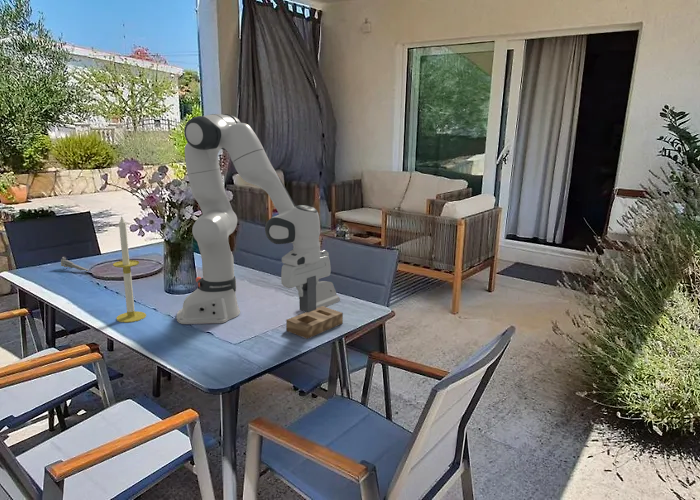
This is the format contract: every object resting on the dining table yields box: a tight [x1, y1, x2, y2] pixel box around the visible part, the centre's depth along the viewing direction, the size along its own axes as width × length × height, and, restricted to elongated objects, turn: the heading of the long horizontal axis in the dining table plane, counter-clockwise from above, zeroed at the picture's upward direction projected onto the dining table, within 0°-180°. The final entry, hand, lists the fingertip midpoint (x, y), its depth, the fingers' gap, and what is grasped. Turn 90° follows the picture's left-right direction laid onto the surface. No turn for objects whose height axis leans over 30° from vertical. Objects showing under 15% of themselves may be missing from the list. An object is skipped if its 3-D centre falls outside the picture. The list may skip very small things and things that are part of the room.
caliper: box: [60, 256, 89, 271], centre depth 228 cm, size 20×1×6 cm, turn 68°
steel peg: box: [298, 276, 316, 313], centre depth 164 cm, size 4×4×12 cm
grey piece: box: [316, 280, 341, 308], centre depth 192 cm, size 17×5×10 cm, turn 140°
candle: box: [112, 215, 147, 324], centre depth 171 cm, size 10×10×38 cm
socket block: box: [285, 306, 344, 340], centre depth 170 cm, size 18×10×4 cm, turn 140°
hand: (307, 294), depth 164 cm, fingers closed on steel peg, 4 cm apart
